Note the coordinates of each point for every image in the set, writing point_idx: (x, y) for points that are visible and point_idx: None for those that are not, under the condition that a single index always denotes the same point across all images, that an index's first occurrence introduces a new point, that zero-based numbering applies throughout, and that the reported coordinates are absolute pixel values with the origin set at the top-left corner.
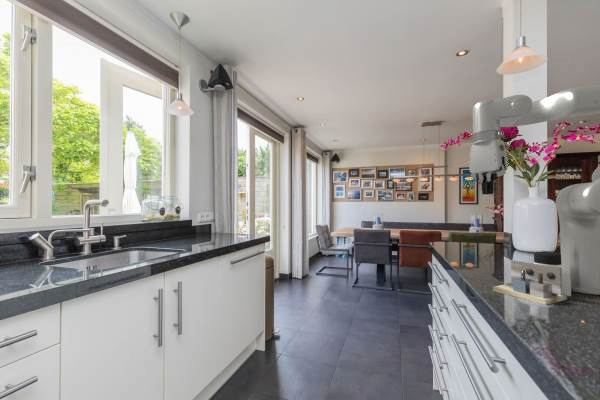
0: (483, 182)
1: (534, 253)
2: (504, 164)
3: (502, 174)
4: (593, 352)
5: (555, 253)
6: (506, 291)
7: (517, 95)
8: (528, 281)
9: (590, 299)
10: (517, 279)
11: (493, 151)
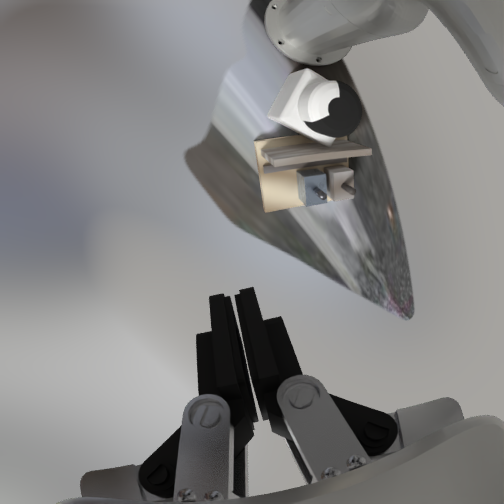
0: (252, 425)
1: (317, 128)
2: (500, 486)
3: (428, 409)
4: (409, 274)
5: (357, 112)
6: (291, 206)
7: None
8: (326, 191)
9: None
10: (312, 201)
11: None
